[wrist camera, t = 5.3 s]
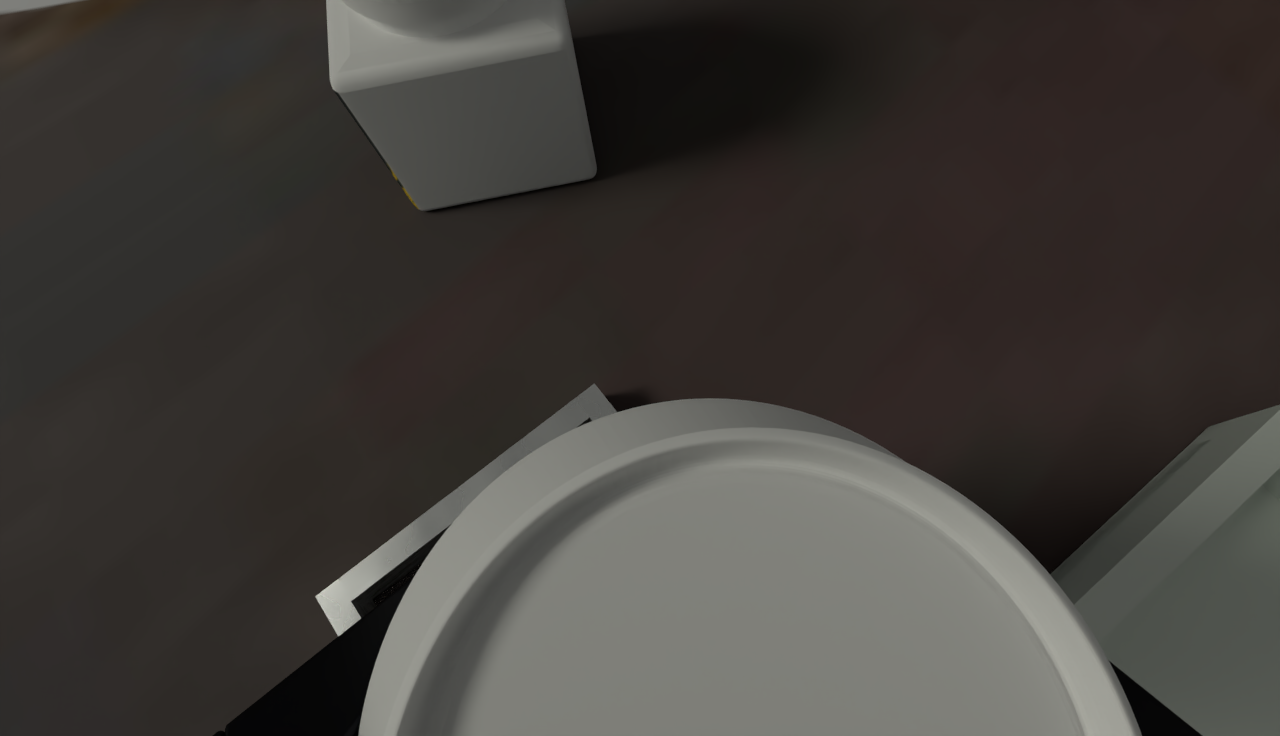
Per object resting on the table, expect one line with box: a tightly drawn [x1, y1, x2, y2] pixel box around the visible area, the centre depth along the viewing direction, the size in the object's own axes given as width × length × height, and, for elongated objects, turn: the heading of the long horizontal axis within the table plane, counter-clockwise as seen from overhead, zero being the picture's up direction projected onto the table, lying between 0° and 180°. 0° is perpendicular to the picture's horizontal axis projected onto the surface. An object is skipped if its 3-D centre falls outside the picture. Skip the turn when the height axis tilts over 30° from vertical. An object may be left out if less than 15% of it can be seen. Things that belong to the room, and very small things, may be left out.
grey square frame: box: [315, 384, 617, 636], centre depth 20 cm, size 11×11×2 cm
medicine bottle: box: [326, 0, 597, 211], centre depth 22 cm, size 7×7×12 cm
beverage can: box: [358, 398, 1142, 736], centre depth 10 cm, size 6×6×12 cm
